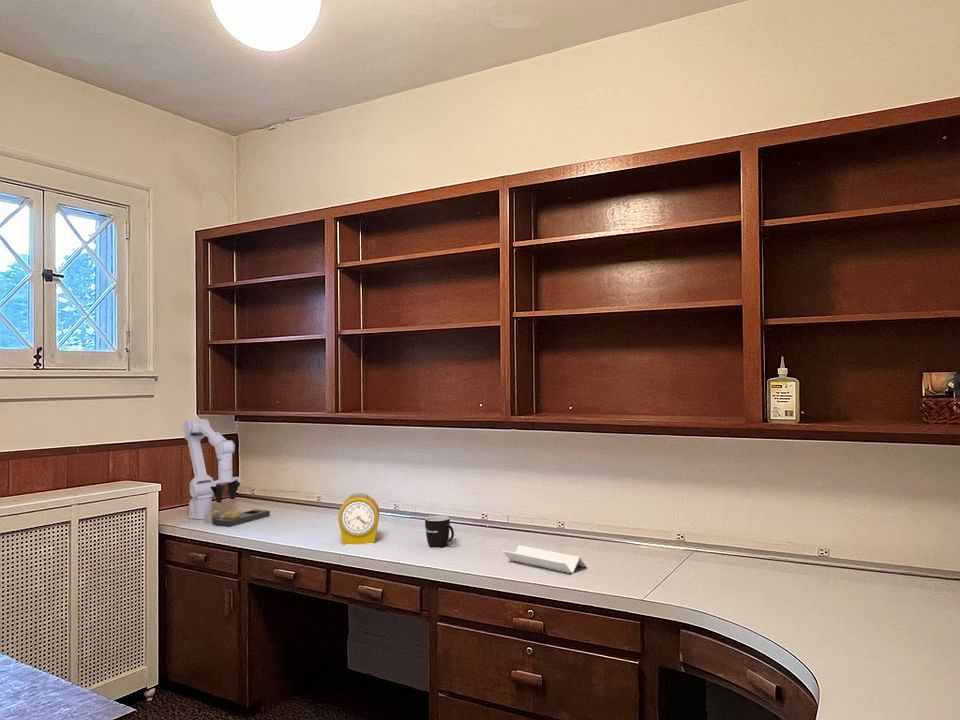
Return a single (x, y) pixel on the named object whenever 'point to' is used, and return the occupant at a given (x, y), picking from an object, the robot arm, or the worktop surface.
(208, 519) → the cube with round knob
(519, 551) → the z bracket
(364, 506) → the alarm clock
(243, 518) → the dark grey socket board
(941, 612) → the worktop surface
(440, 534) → the mug
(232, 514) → the yellow block with knob
